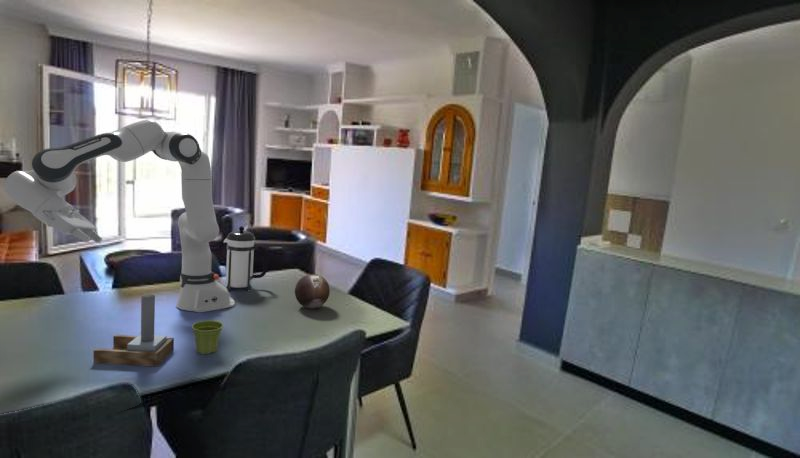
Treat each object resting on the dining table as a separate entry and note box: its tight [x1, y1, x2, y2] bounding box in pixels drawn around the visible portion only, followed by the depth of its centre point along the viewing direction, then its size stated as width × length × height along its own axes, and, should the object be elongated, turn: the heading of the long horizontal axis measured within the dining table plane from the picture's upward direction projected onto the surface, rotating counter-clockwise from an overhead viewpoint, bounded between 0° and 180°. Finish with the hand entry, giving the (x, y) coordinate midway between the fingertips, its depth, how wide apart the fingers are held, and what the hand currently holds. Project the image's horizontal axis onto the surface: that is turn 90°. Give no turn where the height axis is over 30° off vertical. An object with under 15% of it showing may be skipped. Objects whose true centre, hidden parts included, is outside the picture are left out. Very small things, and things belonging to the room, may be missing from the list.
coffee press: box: [223, 225, 269, 291], centre depth 218 cm, size 17×16×30 cm
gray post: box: [127, 294, 167, 352], centre depth 140 cm, size 8×8×19 cm
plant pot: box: [191, 320, 224, 355], centre depth 149 cm, size 9×9×9 cm
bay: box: [93, 334, 175, 367], centre depth 141 cm, size 18×12×4 cm, turn 95°
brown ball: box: [294, 273, 331, 309], centre depth 200 cm, size 15×15×15 cm
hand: (94, 240), depth 144 cm, fingers open, 8 cm apart
